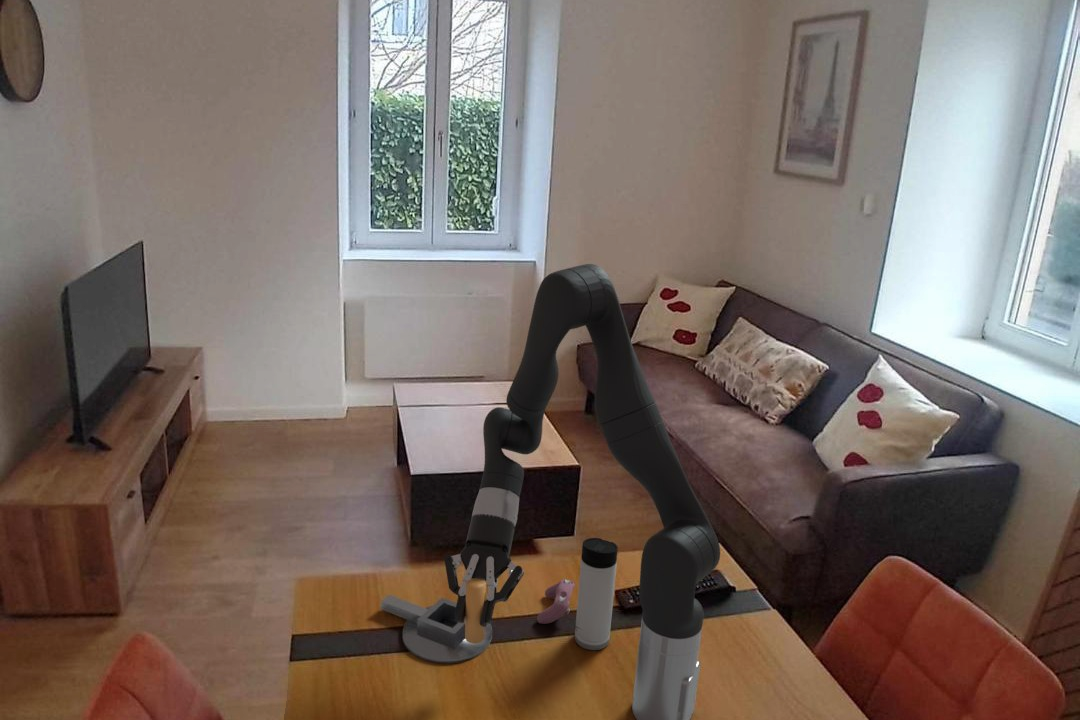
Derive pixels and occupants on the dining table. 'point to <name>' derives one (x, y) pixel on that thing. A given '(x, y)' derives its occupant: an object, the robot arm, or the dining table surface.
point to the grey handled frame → (435, 631)
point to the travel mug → (595, 593)
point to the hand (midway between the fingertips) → (471, 623)
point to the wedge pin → (474, 610)
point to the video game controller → (557, 601)
